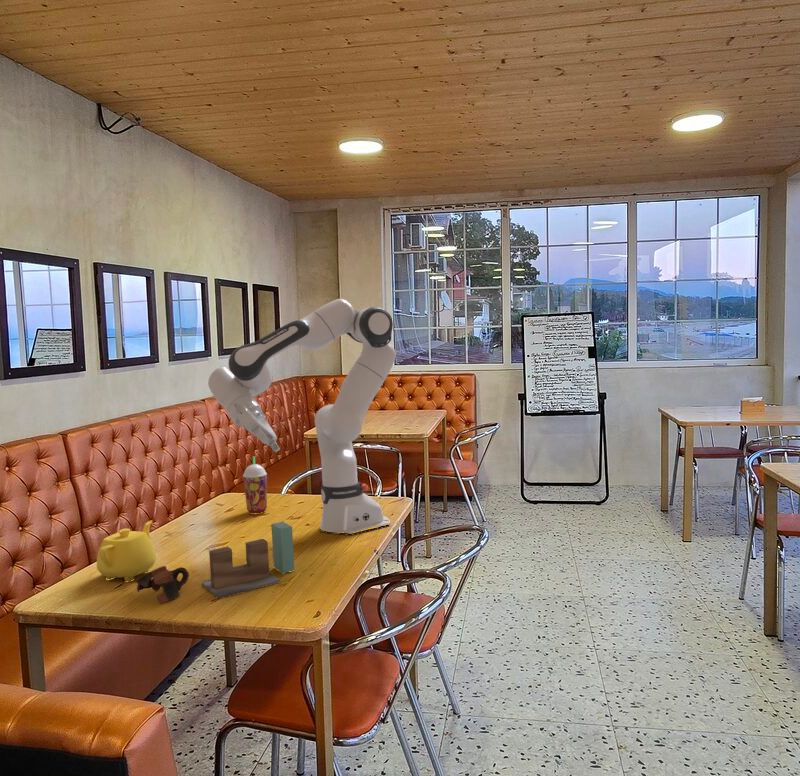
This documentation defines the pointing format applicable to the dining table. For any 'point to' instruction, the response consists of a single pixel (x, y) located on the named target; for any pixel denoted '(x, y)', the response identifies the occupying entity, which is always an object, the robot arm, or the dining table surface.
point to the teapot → (126, 554)
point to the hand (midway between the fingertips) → (272, 446)
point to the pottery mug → (164, 582)
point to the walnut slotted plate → (239, 570)
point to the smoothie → (255, 488)
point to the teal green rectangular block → (282, 547)
